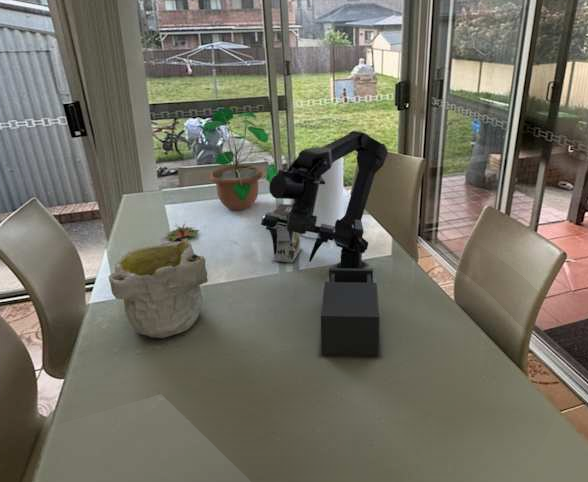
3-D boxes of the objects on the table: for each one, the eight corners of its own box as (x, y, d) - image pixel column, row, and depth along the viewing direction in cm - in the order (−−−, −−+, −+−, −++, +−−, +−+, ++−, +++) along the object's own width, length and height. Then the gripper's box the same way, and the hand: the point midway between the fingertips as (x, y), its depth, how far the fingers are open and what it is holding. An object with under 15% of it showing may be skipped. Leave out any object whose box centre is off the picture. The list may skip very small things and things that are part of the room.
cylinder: (352, 230, 159) (353, 155, 149) (312, 242, 150) (309, 164, 140) (326, 214, 172) (325, 145, 162) (287, 225, 163) (283, 152, 153)
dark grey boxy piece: (330, 288, 122) (330, 260, 119) (371, 289, 122) (372, 261, 118) (326, 325, 107) (326, 294, 104) (373, 326, 106) (374, 295, 103)
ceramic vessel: (86, 282, 112) (140, 201, 111) (173, 314, 125) (221, 241, 124) (78, 333, 93) (143, 235, 92) (181, 364, 105) (239, 278, 104)
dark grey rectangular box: (325, 317, 111) (324, 281, 107) (375, 318, 111) (376, 282, 107) (321, 355, 99) (320, 315, 95) (377, 356, 98) (379, 317, 94)
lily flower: (186, 245, 149) (184, 233, 147) (157, 240, 152) (155, 228, 151) (206, 231, 159) (205, 219, 158) (179, 226, 163) (177, 215, 161)
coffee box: (293, 263, 137) (290, 215, 131) (273, 261, 138) (270, 214, 132) (301, 249, 145) (299, 204, 140) (282, 247, 147) (279, 203, 141)
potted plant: (275, 218, 169) (269, 115, 155) (200, 218, 170) (187, 116, 156) (284, 190, 198) (280, 102, 184) (221, 190, 199) (211, 102, 184)
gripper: (262, 195, 104) (250, 258, 106) (339, 212, 104) (326, 274, 106) (271, 190, 116) (260, 247, 117) (340, 205, 115) (328, 262, 117)
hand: (292, 257), depth 114 cm, fingers open, 9 cm apart
